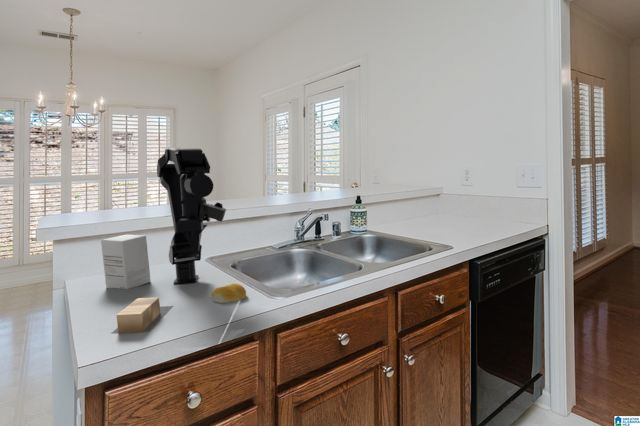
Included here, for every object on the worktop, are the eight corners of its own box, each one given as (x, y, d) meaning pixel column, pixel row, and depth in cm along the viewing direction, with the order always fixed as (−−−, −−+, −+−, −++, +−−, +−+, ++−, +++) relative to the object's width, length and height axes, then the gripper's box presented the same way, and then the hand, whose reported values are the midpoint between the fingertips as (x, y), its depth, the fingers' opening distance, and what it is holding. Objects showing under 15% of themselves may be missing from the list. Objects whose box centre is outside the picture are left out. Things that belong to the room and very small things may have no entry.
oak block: (137, 298, 87) (116, 314, 77) (159, 297, 88) (140, 313, 78) (139, 314, 88) (118, 332, 78) (160, 313, 88) (142, 331, 78)
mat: (141, 309, 92) (140, 307, 92) (173, 307, 93) (173, 305, 93) (111, 335, 78) (111, 333, 78) (149, 333, 78) (149, 331, 78)
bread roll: (252, 296, 100) (251, 282, 99) (226, 307, 93) (225, 292, 92) (231, 291, 105) (230, 278, 104) (205, 301, 97) (204, 286, 97)
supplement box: (130, 279, 119) (125, 233, 117) (151, 281, 115) (147, 235, 114) (104, 288, 110) (99, 239, 108) (127, 291, 107) (122, 240, 105)
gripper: (219, 196, 92) (223, 257, 94) (225, 192, 110) (229, 243, 112) (172, 198, 90) (177, 260, 92) (187, 193, 108) (190, 245, 110)
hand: (196, 251), depth 101 cm, fingers closed
